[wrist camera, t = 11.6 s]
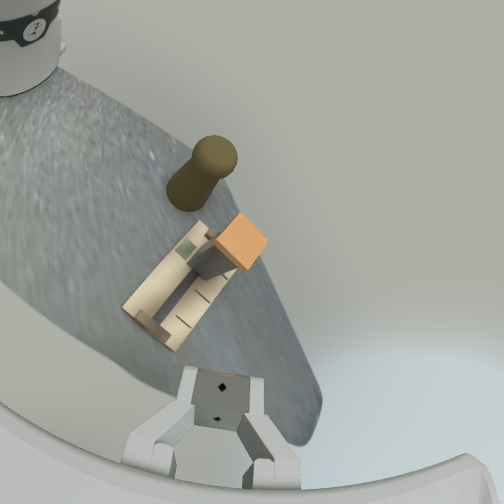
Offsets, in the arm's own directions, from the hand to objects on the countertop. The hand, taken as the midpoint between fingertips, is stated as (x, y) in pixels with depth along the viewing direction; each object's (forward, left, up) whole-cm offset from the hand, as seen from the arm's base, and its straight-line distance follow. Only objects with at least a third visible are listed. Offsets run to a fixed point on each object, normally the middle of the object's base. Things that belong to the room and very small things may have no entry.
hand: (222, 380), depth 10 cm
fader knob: (0, +13, -22) cm, 25 cm away
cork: (-8, +19, -23) cm, 32 cm away
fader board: (0, +9, -23) cm, 25 cm away
